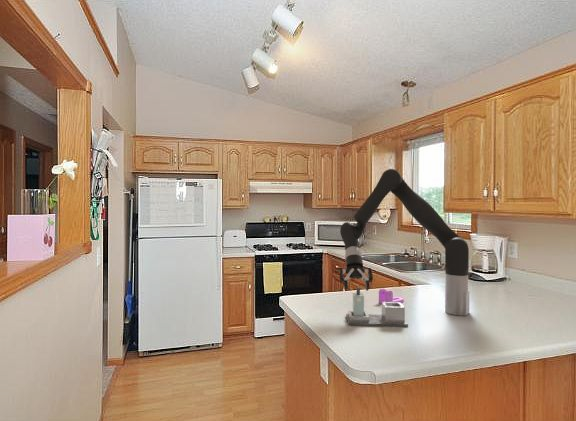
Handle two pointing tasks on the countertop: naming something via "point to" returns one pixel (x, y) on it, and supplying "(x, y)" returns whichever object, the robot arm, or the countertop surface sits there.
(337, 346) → the countertop surface
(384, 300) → the bracket
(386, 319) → the dark gray base plate
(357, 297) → the grey bottle
